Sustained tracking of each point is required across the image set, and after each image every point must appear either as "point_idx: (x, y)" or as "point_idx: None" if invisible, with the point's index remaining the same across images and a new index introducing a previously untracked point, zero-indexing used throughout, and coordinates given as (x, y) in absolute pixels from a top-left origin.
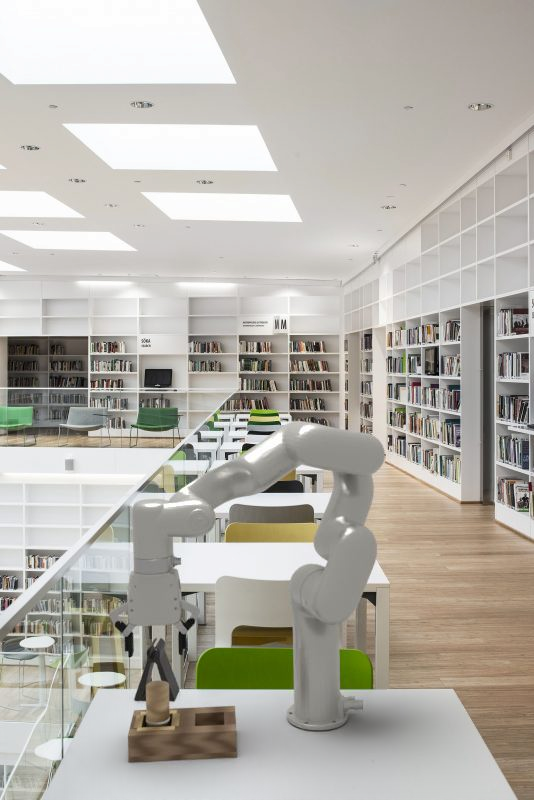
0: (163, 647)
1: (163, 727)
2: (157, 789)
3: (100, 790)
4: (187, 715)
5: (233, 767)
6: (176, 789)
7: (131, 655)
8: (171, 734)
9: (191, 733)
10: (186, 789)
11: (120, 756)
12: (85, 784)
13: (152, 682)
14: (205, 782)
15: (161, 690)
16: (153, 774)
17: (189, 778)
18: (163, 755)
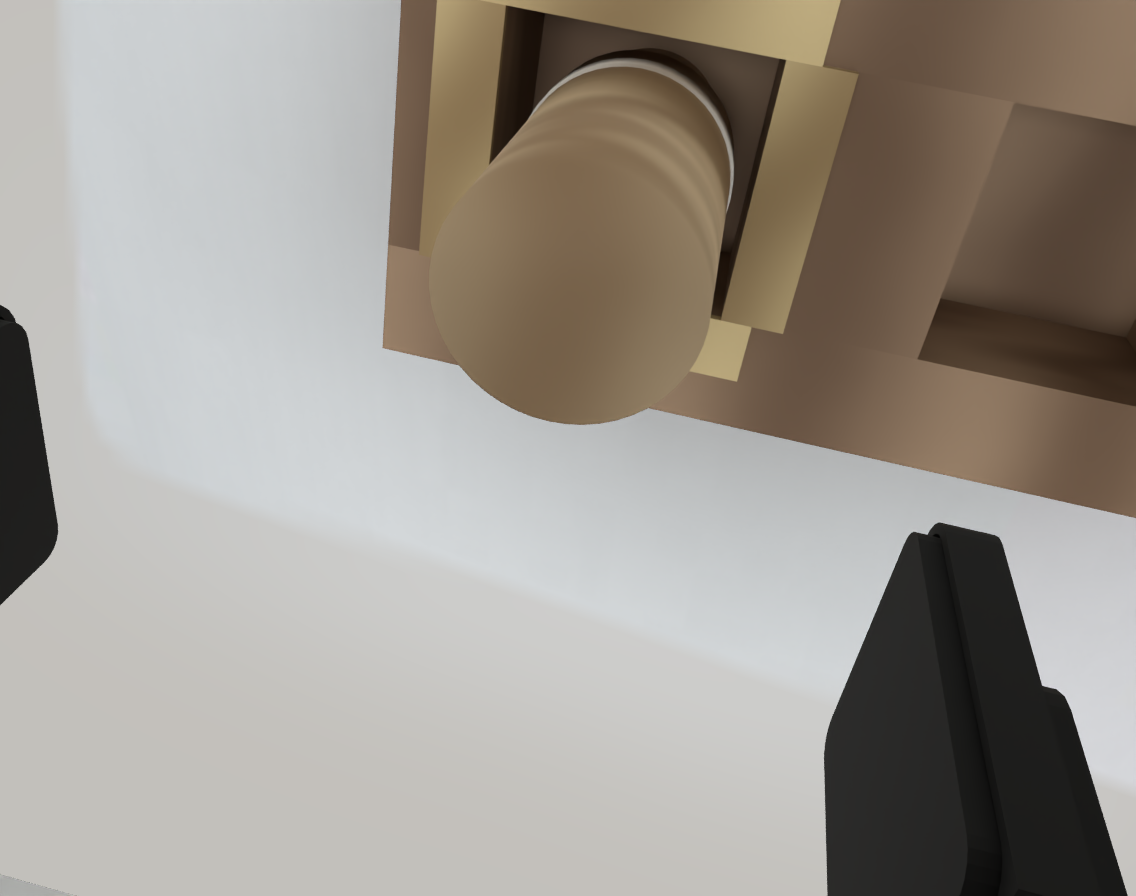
0: None
1: None
2: (593, 584)
3: (314, 502)
4: (920, 127)
5: (1071, 528)
6: (687, 615)
7: (35, 561)
8: (704, 419)
9: (857, 450)
10: (737, 631)
11: (388, 173)
12: (230, 427)
13: (509, 201)
14: (851, 609)
15: (604, 414)
16: (585, 448)
17: (777, 549)
18: None
